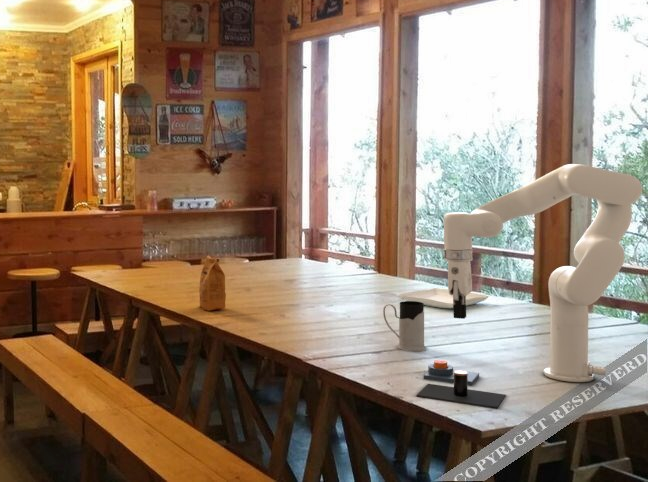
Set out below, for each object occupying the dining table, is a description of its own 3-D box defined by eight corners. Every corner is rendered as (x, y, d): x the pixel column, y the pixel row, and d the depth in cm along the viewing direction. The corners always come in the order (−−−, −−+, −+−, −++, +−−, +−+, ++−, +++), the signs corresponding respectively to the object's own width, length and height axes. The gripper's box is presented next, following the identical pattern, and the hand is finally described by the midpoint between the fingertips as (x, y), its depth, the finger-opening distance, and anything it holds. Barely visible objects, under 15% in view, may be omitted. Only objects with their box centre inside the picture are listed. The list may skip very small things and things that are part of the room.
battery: (468, 394, 210) (468, 371, 210) (465, 397, 207) (466, 374, 207) (455, 392, 212) (455, 369, 212) (452, 395, 209) (452, 372, 209)
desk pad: (505, 396, 209) (505, 394, 209) (497, 408, 199) (497, 407, 199) (428, 385, 220) (428, 383, 220) (416, 396, 210) (416, 394, 210)
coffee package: (218, 304, 342) (217, 254, 341) (228, 310, 330) (227, 258, 329) (196, 306, 339) (195, 255, 338) (205, 311, 327) (204, 259, 326)
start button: (448, 367, 228) (448, 361, 228) (445, 370, 225) (445, 363, 225) (435, 365, 230) (435, 359, 230) (432, 368, 227) (432, 362, 227)
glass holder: (419, 352, 255) (419, 306, 255) (377, 346, 265) (377, 301, 264) (429, 347, 262) (429, 302, 261) (389, 341, 271) (389, 298, 271)
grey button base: (479, 377, 227) (479, 366, 227) (471, 386, 219) (471, 375, 218) (432, 370, 234) (432, 361, 234) (423, 379, 226) (423, 368, 226)
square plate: (490, 303, 333) (490, 294, 332) (451, 312, 317) (451, 302, 317) (435, 295, 355) (435, 286, 355) (395, 302, 340) (395, 293, 340)
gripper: (466, 258, 220) (468, 324, 221) (477, 252, 232) (478, 313, 233) (438, 258, 224) (440, 322, 225) (450, 251, 236) (452, 312, 237)
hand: (460, 317), depth 229 cm, fingers closed
